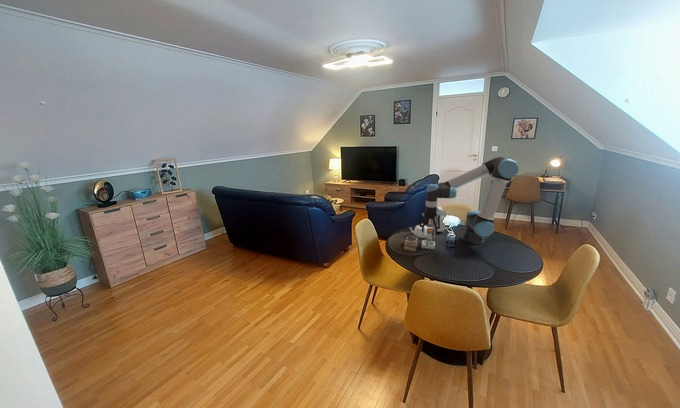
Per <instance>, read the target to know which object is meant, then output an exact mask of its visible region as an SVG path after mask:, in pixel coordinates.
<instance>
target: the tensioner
mask: <svg viewBox="0 0 680 408" xmlns="http://www.w3.org/2000/svg"><path fill="white" fill-rule="evenodd" d="M418 240H419V238H418V237H416V236H415V235H409V236H406V238H405V241H404V244H403V250H404V251H405V250H407V251H413V252H416V251H417V246H418Z"/></svg>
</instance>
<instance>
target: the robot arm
mask: <svg viewBox="0 0 680 408" xmlns="http://www.w3.org/2000/svg"><path fill="white" fill-rule="evenodd" d="M519 169H520V168H519V164H518V163H517V162H516V161H515V160H514V159H511V158H507V157H503V156H497V157H494V158H492V159H490V160H488V161H485V162H483V163H482V164H481V165H479V166H477V167H475V168H472V170H469V171H467V172H464V173H462V174H460V175H458V176H456V177H453V178H451V179H449V180H447V181H444V182H438V183H437V184H436V183H429V184H427V185H426V191H425V192H426V194H425V208H424V210H425V211H424V212H421V213H420V221H419V225H420V227H422V232H423V237H424V233H425V227H424V226H426V224H427V221H428V220H430V219H432V220H433V223H434V226H435V228H434V230H433V238H434V239H435V238H436V234H437V229H440V216H441V215H438V214H437V213H436V209H437V207H438V199H455V198H457V188H460V187H462V186H465V185H467V184H469V183H472V182H474V181H476V180H478V179H481V178H483V177H488V176H491V178H492V181H491V183H490V185H489V188H488V191H487V194H486V196H485V198H484V202H483V204H482V206H481V209H480V210H469V211H467V213H466V219H465V228H464V231H463V233H462V236H461V240H462V241H463V242H464V243H467V244H470V245H472V244H473V245H481V244H483V243H485V238H484V237H488V236H491V235H492V234H494V231H495V226H494V222H495V220H496V219H495V214H496V211H497V208H498V206H499V203H500V201H501V198H502V196H503V193H504V191H505V190H506V186H507V184H508V183H510V182H512V178H514V177H515V176H517V174H518V173H519ZM424 216H425V219H424V221H423V218H424ZM436 216H437V218H438V227H437V225H436V222H435V217H436ZM422 224H423V225H422Z"/></svg>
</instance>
